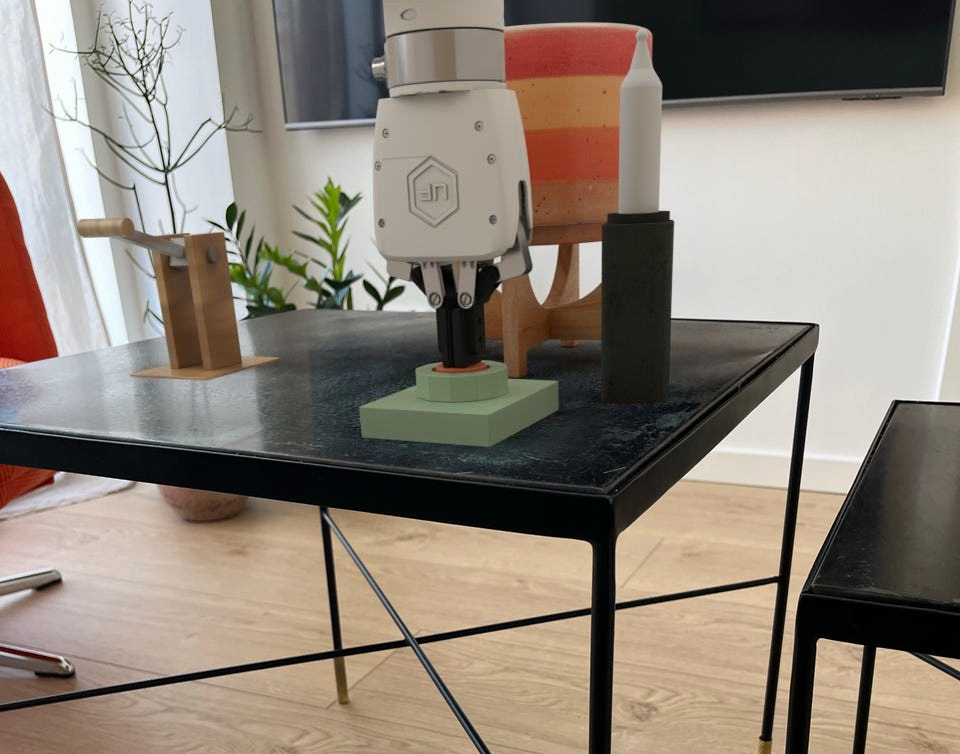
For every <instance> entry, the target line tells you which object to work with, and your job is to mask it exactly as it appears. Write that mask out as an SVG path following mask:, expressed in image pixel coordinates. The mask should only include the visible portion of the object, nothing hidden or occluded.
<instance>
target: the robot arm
mask: <svg viewBox="0 0 960 754" xmlns="http://www.w3.org/2000/svg"><path fill="white" fill-rule="evenodd" d="M504 1H505V0H382V10H383V24H384V36H385V42H384V44H383V48H384V49H383V50H384V54H383V55H382V56H379V57H374V59H372V62H371V73H372V75H373V78H374V79H375V80H376V81H377V82H378V81H385V82H386V89H388V90H389V91H388V92H389V97H386V98H385V97H384V98H379V99H378V102H377V106H376V107H377V108H376V116H375V125H374V135H373V151H372V153H373V154H372V204H373V205H372V206H373V226H374V227H373V229H374V237H375V238H374V239H375V245H376V248H377V252H378V253H379V255H380V256H381V257H383V258H384V259H386V273H387V275H388V276H389V277H392V278H395V279H398V280H403V281H405V282H409V283H410V282H411V283H413V284H414V285H415V286H416V287H417V288H418V290H420V292H421V293H422V294H423V295H424V296H425V297H426V300H427V304H428V305H429V307H431V308H432V309H435V318H436V319H435V320H436V336H437V349H438V352H439V353H440V354H441V362H442V364H443V367H444V368H452V367H454V366H456V367H457V368H467V367H469V366H472V365H474V364H477V363H480V362H481V361H482V360H483V354H484V353H485V351H486V347H487V345H486V343H487V339H485V317H484V304H486V303H488V302H489V300H490V298H491V295H492V294H493V293H494V291H495V290H496V289H497V290H498V288H499V286H501V283H502V282H503V281H505V280H509V279H512V278H515V277H519V276H522V275H525V274H530V273H531V272H532V271H533V268H534V267H533V260H532V256H531V251H530V248H529V247H531V246H530V244H531V240H532V228H533V219H532V198H531V184H530V174H529V164H528V156H527V149H526V142H525V136H524V130H523V125H522V120H521V115H520V110H519V105H518V101H517V97H516V93H515V91H513V90H508V89H507V87H506V56H505V34H504V32H505V28H504V27H505V18H504V17H505V16H504V15H505V4H504ZM501 256H505V257H504V259H503V260H502V261H501V260H500V261H497V262H495V259H497V258H499V257H501ZM455 261H460V275H459V282H458V277H457V271H456V265H455Z"/></svg>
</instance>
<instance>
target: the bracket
mask: <svg viewBox="0 0 960 754" xmlns="http://www.w3.org/2000/svg"><path fill="white" fill-rule="evenodd" d="M225 235H226V234H225V231H214V232H203V233H193V234H191V233H190V232H179V233H168V234H157V235H154V236H155V237H158V238H161V239H164V240H167V241H170V239H171V238H184V243H185V249H186V256H187V262H188V269H189V272H188V271H185V270H182V269H178V268H175V267H172V266H170V256H168V255H165V254H162V253H158V252H155V251H152V250H150V251H151V252H150V253H151V258H152V265H153V270H154V275H155V281H156V282H155V283H156V288H157V294H158V301H159V305H160V311H161V317H162V324H163V329H164V335H165V341H166V347H167V353H168V359H169V364H165V365H161V366H156V367H152V368H149V369H144V370H141V371H137V372H133V373H132V372H131V373H130V374H129V377H132V378H149V379H150V378H151V379H168V380H169V379H170V380H171V379H172V380H191V381H210V380H213V379H217V378H220V377H223V376H224V377H225V376H227V375H231V374H234V373H239V372H241V371H245V370H249V369H252V368H256V367H260V366H263V365H267V364H270V363H274V362H279V361H281V357H273V356H249V355H247V356H246V355H242V351H241V343H240V336H239V330H238V323H237V316H236V307H235V301H234V292H233V286H232V280H231V271H230V265H229V258H228V257H229V256H228V249H227V243H226V236H225Z"/></svg>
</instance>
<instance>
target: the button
mask: <svg viewBox="0 0 960 754" xmlns="http://www.w3.org/2000/svg"><path fill="white" fill-rule="evenodd" d="M483 370H486V364H485V363H483V362H480V363H477V364H474V365H472V366H469V367H467V368H457V367H456V366H454V367H452V368H444V367H443V364H439V365H437V366H436V372H439V373H470V372H477V371H483Z"/></svg>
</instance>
